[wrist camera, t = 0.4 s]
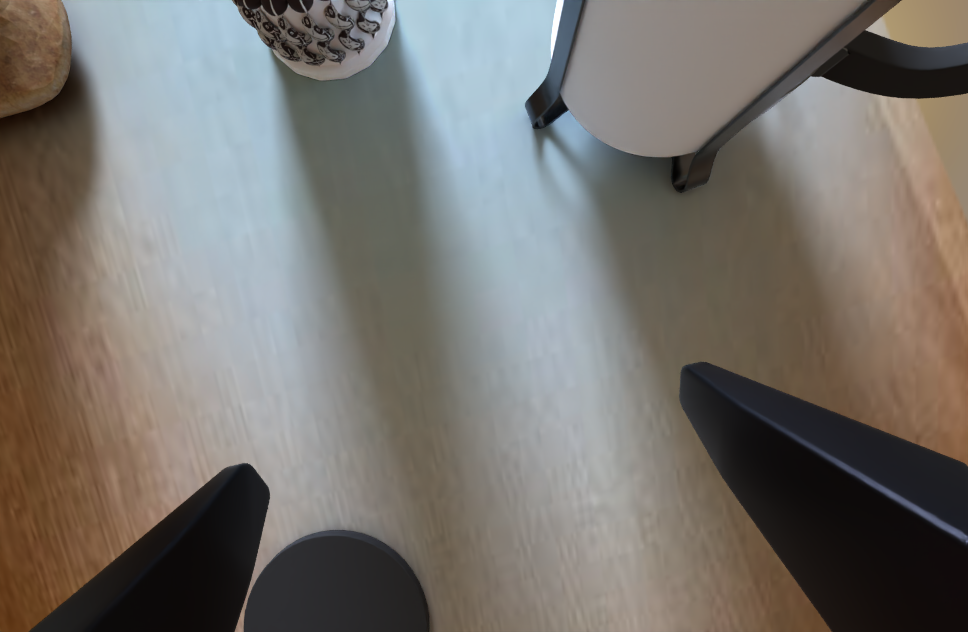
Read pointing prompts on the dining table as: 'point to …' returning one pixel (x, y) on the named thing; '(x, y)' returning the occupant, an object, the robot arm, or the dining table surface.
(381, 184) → the dining table surface
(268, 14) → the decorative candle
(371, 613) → the coaster
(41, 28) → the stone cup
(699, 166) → the coffee press
